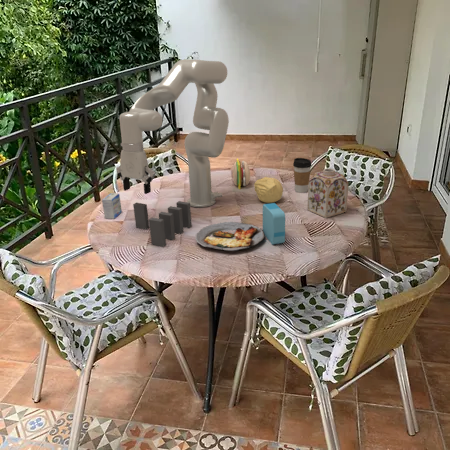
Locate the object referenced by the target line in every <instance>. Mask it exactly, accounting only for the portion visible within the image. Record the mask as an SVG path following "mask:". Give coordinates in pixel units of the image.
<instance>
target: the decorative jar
mask: <svg viewBox="0 0 450 450" xmlns="http://www.w3.org/2000/svg"><path fill="white" fill-rule="evenodd" d="M348 193H349V181H348V180H347V178H346V177H345V176H344V174H343V173H341V172H337V171H336V169H335V168H324V169H323V170H322V171H316V172H315V173H314V174H313V175H312V176H310V178H309V185H308V191H307V211H309V212H312V213H314V214H316V215H318V216H320V217H322V218H324V219H327V218H332V217H335V216H337V215H341V214H345V213H346V212H347V208H348ZM344 212H345V213H344Z"/></svg>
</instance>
